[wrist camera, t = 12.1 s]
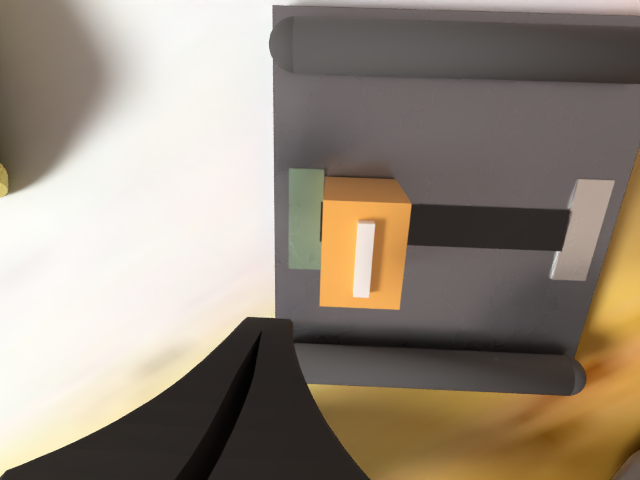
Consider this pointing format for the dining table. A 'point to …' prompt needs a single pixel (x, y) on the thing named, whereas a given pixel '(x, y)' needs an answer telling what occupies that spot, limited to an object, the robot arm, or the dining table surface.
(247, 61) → the dining table surface
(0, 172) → the plastic component
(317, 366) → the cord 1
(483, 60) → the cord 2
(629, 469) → the gray stone pot
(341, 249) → the toggle
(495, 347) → the panel
